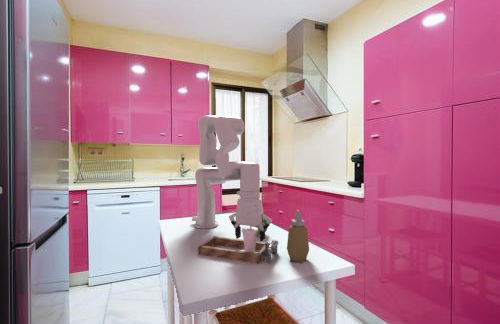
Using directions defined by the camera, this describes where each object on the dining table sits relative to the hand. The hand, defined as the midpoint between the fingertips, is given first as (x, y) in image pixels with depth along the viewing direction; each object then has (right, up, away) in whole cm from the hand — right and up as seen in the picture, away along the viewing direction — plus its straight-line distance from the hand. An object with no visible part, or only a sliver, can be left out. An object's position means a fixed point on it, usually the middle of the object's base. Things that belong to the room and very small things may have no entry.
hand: (250, 239), depth 97 cm
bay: (-6, -6, +2) cm, 9 cm away
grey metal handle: (+8, -6, -3) cm, 10 cm away
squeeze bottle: (+18, -6, -4) cm, 19 cm away
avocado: (+5, -6, +24) cm, 25 cm away
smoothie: (0, -6, 0) cm, 6 cm away
